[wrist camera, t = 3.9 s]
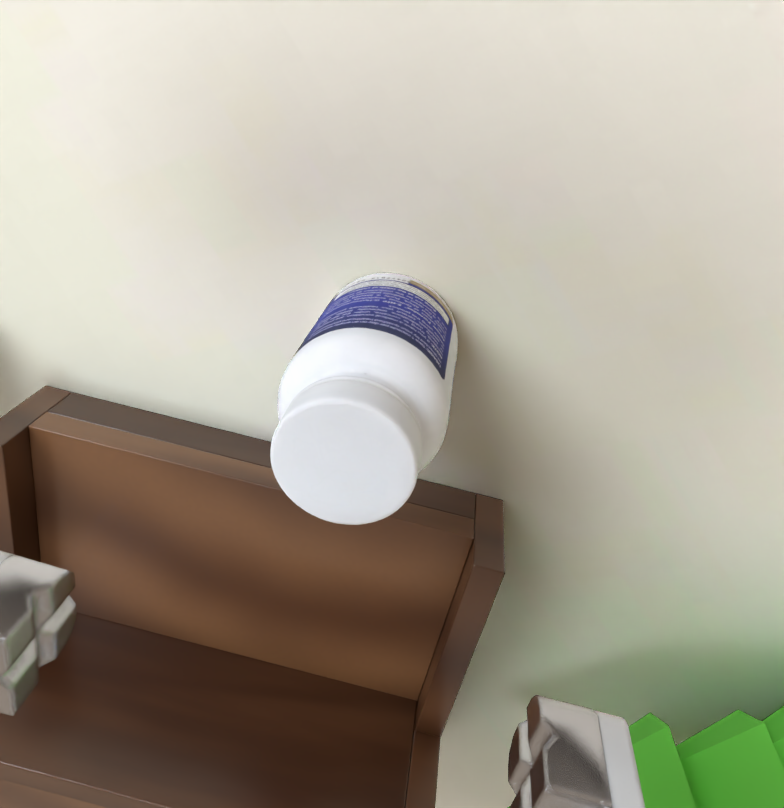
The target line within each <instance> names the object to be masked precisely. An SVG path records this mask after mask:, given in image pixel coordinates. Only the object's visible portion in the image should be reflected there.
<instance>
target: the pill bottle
mask: <svg viewBox="0 0 784 808" xmlns="http://www.w3.org/2000/svg"><path fill="white" fill-rule="evenodd" d="M457 349H458V333H457V327H456V323H455V320H454V317H453V315H452V313H451V311H450V309H449V308H448V306H447V304H446V303H445V302H444V300H443V299H442V298H441V297H440V296H439V295H438V294H437V293H436V292H435V291H434V290H433V289H432V288H430V287H429V286H427V285H426V284H424V283H423V282H421V281H419V280H417V279H414V278H412V277H409V276H406V275H401V274H395V273H376V274H371V275H367V276H363V277H361V278H359V279H356V280H354V281H352V282H351V283H349V284H348V285H346V286H345V287H343V288H342V289H341V290H340V291H339V292H338V293H337V294H336V295H335V296H334V298H333V299H332V300H331V302H330V303H329V304H328V306H327V307H326V309H325V310H324V312H323V313H322V315H321V316H320V318H319V319H318V321H317V322H316V324H315V325H314V327H313V328H312V329H311V331H310V332H309V334H308V335H307V337H306V338H305V340H304V341H303V343H302V344H301V346H300V347H299V349H298V350H297V352H296V353H295V355H294V356H293V358H292V359H291V361H290V362H289V364H288V366H287V368H286V370H285V372H284V374H283V377H282V379H281V383H280V386H279V391H278V416H279V421H280V422H279V424H278V426H277V428H276V430H275V432H274V435H273V438H272V442H271V449H270V458H271V465H272V470H273V472H274V475H275V478H276V480H277V482H278V483H279V485H280V487H281V488H282V490H283V491H284V492H285V494H286V495H287V496H288V497H289V498H290V499H291V500H292V501H293V502H294V503H295V504H296V505H297V506H299V507H301V508H302V509H303V510H305V511H306V512H308V513H310V514H311V515H314V516H316V517H318V518H320V519H323V520H326V521H329V522H333V523H338V524H346V525H361V524H367V523H372V522H376V521H378V520H381V519H384V518H386V517H388V516H390V515H391V514H393V513H394V512H396V511H397V510H398V509H399V508H400V507H402V506H403V505H404V503H405V502H406V501H407V500H408V498H409V497H410V495H411V494H412V491H413V489H414V487H415V485H416V481H417V477H418V473H419V472H420V471H421V470H422V469H424V468H425V467H426V466H427V465H428V464H429V463H430V462H431V461H432V459H433V458H434V457H435V455H436V454H437V452H438V451H439V449H440V447H441V445H442V443H443V440H444V438H445V434H446V430H447V426H448V421H449V415H450V406H451V396H452V386H453V379H454V372H455V365H456V359H457Z"/></svg>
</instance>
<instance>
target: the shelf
mask: <svg viewBox="0 0 784 808" xmlns="http://www.w3.org/2000/svg"><path fill="white" fill-rule="evenodd" d="M270 449H271V442H268V441H264V440H260V439H256V438H252V437H248V436H244V435H240V434H236V433H232V432H228V431H224V430H220V429H216V428H212V427H208V426H204V425H200V424H196V423H192V422H188V421H184V420H180V419H176V418H172V417H169V416H165V415H161V414H157V413H153V412H149V411H145V410H141V409H137V408H133V407H129V406H125V405H121V404H117V403H113V402H109V401H105V400H101V399H97V398H93V397H89V396H85V395H81V394H77V393H71V392H69V391H65V390H61V389H57V388H53V387H49V386H45V387H43V388H42V389H40V390H39V391H38V392H36V393H35V394H33V395H32V396H30V397H29V398H28V399H26V400H25V401H23V402H22V403H21V404H19V405H18V406H16V407H15V408H14V409H12V410H11V411H9V412H8V413H7V414H5V415H4V416H2V417H1V418H0V551H4V552H7V553H11V554H14V555H18V556H21V557H25V558H28V559H31V560H35V561H38V562H41V563H45V564H48V565H52V566H55V567H58V568H62V569H65V570H68V571H71V572H74V576H75V588H74V589H73V590H72V591H71V593H70V594H69V596H70V597H71V598H72V600H73V601H74V602H75V603H76V606H77V616H76V621H75V626H74V629H73V631H72V633H71V635H70V637H69V640H68V642H67V644H66V646H65V647H64V648H63V650H62V651H61V653H60V654H59V655H58V657H57V658H56V659H55V660H53V661H51V662H49V663H47V664H45V665H43V666H41V667H39V683H38V684H37V685H36V687H35V688H34V689H33V691H32V692H31V693H30V695H29V696H28V697H27V699H26V700H25V701H24V703H23V704H22V705H21V707H20V708H19V709H18V711H17V712H16V713H15V715H14V716H11V715H7V714H3V713H0V808H435V802H436V789H437V776H438V763H439V750H440V737H441V735H442V732H443V730H444V727H445V725H446V722H447V720H448V717H449V715H450V712H451V709H452V707H453V704H454V702H455V699H456V697H457V694H458V692H459V689H460V687H461V684H462V681H463V679H464V676H465V674H466V671H467V669H468V666H469V664H470V661H471V658H472V656H473V653H474V651H475V648H476V646H477V643H478V641H479V638H480V636H481V633H482V630H483V628H484V625H485V623H486V620H487V618H488V615H489V613H490V610H491V607H492V605H493V602H494V600H495V597H496V595H497V592H498V590H499V587H500V585H501V582H502V579H503V577H504V574H505V557H504V519H503V500H500V499H496V498H492V497H488V496H484V495H480V494H476V495H475V493H472V492H468V491H464V490H460V489H456V488H452V487H448V486H444V485H440V484H436V483H432V482H428V481H424V480H420V479H417V481H416V485H415V487H414V489H413V491H412V494H411V495H410V497H409V498H408V500H407V501H406V502H405V503H404V505H403V506H402V507H400V508H399V509H398V510H397V511H396V512H394V513H393V514H391V515H390V516H388V517H386V518H384V519H381V520H378V521H376V522H372V523H367V524H361V525H346V524H338V523H333V522H329V521H326V520H323V519H320V518H318V517H316V516H314V515H311V514H310V513H308V512H306V511H305V510H303V509H302V508H301V507H299V506H297V505H296V504H295V503H294V502H293V501H292V500H291V499H290V498H289V497H288V496H287V495H286V494H285V492H284V491H283V490H282V488H281V487H280V485H279V483H278V482H277V480H276V478H275V475H274V472H273V470H272V465H271V458H270Z"/></svg>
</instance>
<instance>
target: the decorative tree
mask: <svg viewBox="0 0 784 808" xmlns="http://www.w3.org/2000/svg"><path fill="white" fill-rule="evenodd" d="M629 731H630V736H631V741H632V746H633V750H634V755H635V760H636V765H637V769H638V774H639V779H640V784H641V789H642V793H643V798H644V803H645V808H784V706H783V707H781V708H780V709H779V710H777V711H776V712H774V713H773V714H771V715H770V716H769V717H767V718H766V719H764V720H763V721H760V720H758V719H756V718H754V717H752V716H750V715H748V714H746V713H744V712H742V711H740V710H737V711H735V712H733V713H731V714H730V715H728V716H726V717H725V718H723V719H721V720H719V721H718V722H716V723H714V724H713V725H711V726H709V727H707V728H706V729H704V730H702V731H701V732H699V733H697V734H695V735H694V736H692V737H690V738H689V739H687V740H685V741H683V742H682V743H680V744H678V745H677V746H675V743H674V740H673V737H672V734H671V731H670V728H669V726H668V725H667V724H666V723H664V722H663V721H661V720H660V719H659V718H657V717H656V716H654V715H653V714H651V713H649V714H647V715H646V716H644V717H643V718H641V719H640V720H638V721H637V722H635V723H634V724H632V725H631V726H629ZM508 808H510V806H509V807H508Z"/></svg>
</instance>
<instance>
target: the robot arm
mask: <svg viewBox="0 0 784 808" xmlns="http://www.w3.org/2000/svg"><path fill="white" fill-rule="evenodd" d="M74 588H75V576H74V572H71V571H68V570H65V569H62V568H58V567H55V566H52V565H48V564H45V563H41V562H38V561H35V560H31V559H28V558H25V557H21V556H18V555H14V554H11V553H7V552H4V551H0V713H3V714H7V715H11V716H14V715H15V713H16V712H17V711H18V709H19V708H20V707H21V705H22V704H23V703H24V701H25V700H26V699H27V697H28V696H29V695H30V693H31V692H32V691H33V689H34V688H35V687H36V685H37V684H38V683H39V667H41V666H43V665H45V664H47V663H49V662H51V661H53V660H55V659H56V658H57V657H58V655H59V654H60V653H61V651H62V650H63V648H64V647H65V646H66V644H67V642H68V640H69V637H70V635H71V633H72V631H73V629H74V626H75V621H76V616H77V606H76V603H75V602H74V601H73V600H72V598H71V597H70V596H69V594H70V593H71V591H72V590H73V589H74ZM508 782H509V784H510V785H511V787H512V789H513V790H514V792H515V794H516V797H515V799H514V801H513V802H512V804H511V806H510V808H645V803H644V798H643V793H642V789H641V784H640V779H639V774H638V769H637V765H636V760H635V755H634V750H633V746H632V741H631V736H630V731H629V727H628V724H627V722H626V721H625V719H624V718H622V717H618V716H614V715H610V714H607V713H603V712H599V711H596V710H592V709H590V708H587V707H583V706H579V705H575V704H571V703H567V702H563V701H559V700H555V699H551V698H547V697H543V696H539V695H535V696H534V697H533V698H532V699H531V701H530V703H529V705H528V707H527V720H526V721H524V722H522V723H519V724H518V727H517V729H516V731H515V733H514V736H513V739H512V743H511V748H510V752H509V764H508Z"/></svg>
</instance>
